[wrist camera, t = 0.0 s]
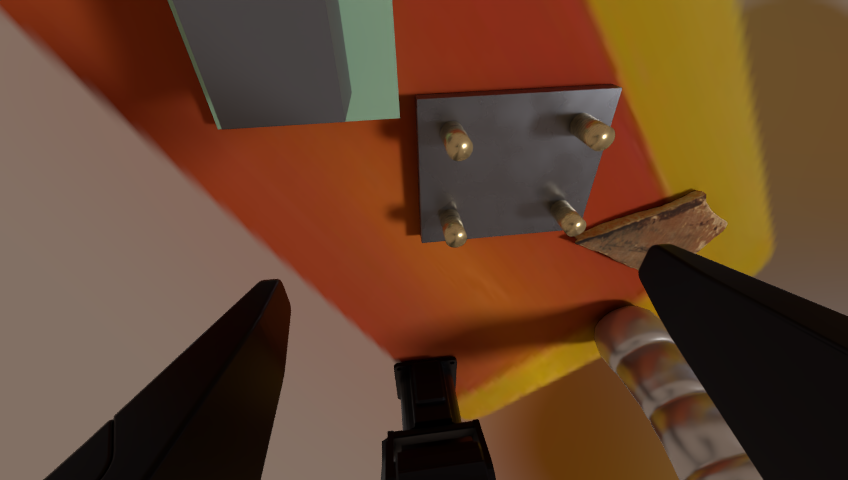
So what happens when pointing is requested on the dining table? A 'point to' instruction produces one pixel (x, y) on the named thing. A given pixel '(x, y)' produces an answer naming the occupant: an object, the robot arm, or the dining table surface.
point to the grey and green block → (292, 59)
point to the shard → (656, 230)
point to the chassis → (509, 159)
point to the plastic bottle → (671, 397)
